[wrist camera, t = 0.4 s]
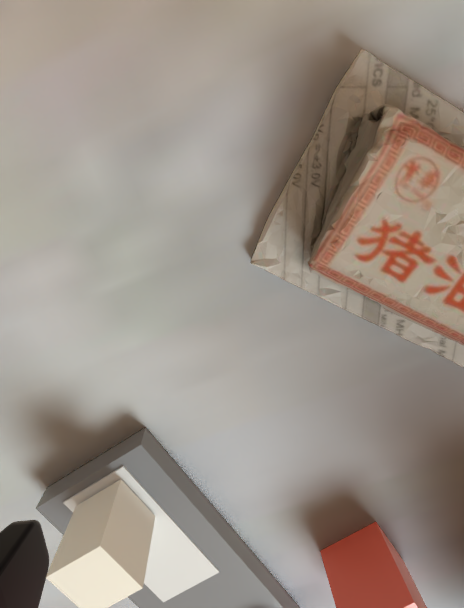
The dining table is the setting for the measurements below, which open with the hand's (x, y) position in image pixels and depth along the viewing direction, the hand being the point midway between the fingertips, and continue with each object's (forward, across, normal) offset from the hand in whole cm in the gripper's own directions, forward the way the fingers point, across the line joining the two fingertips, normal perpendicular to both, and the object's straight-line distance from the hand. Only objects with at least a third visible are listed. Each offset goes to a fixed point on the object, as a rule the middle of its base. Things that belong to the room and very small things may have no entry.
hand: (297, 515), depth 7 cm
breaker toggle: (+12, +8, +11) cm, 18 cm away
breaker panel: (+14, +5, +16) cm, 22 cm away
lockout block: (+14, -7, +18) cm, 23 cm away
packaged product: (+14, -11, -2) cm, 18 cm away
